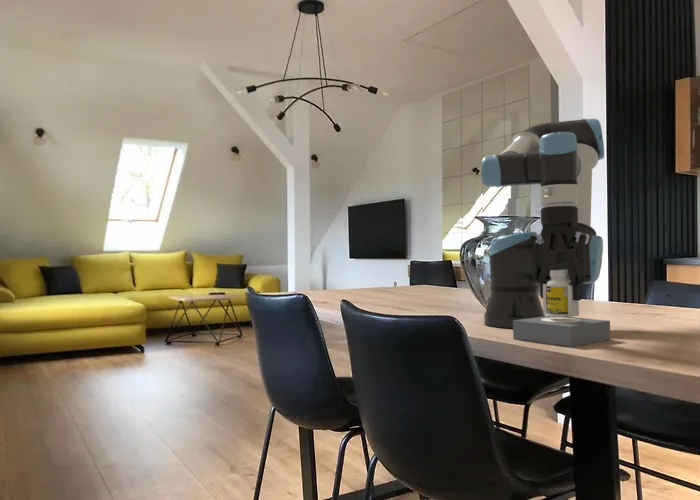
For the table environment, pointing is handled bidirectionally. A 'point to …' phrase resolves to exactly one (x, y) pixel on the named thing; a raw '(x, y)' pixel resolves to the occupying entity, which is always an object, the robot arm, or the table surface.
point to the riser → (561, 330)
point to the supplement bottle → (558, 293)
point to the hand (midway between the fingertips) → (560, 314)
